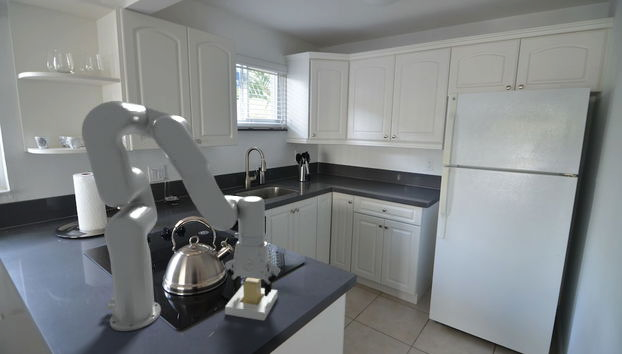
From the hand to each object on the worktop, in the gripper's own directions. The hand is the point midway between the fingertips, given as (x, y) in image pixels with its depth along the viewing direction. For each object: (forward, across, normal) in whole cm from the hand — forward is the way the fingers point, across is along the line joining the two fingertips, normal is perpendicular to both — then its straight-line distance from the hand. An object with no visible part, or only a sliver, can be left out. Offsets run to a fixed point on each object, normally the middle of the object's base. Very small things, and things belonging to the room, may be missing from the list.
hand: (252, 291), depth 93 cm
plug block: (+4, 0, 0) cm, 4 cm away
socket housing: (+5, 0, 0) cm, 5 cm away
